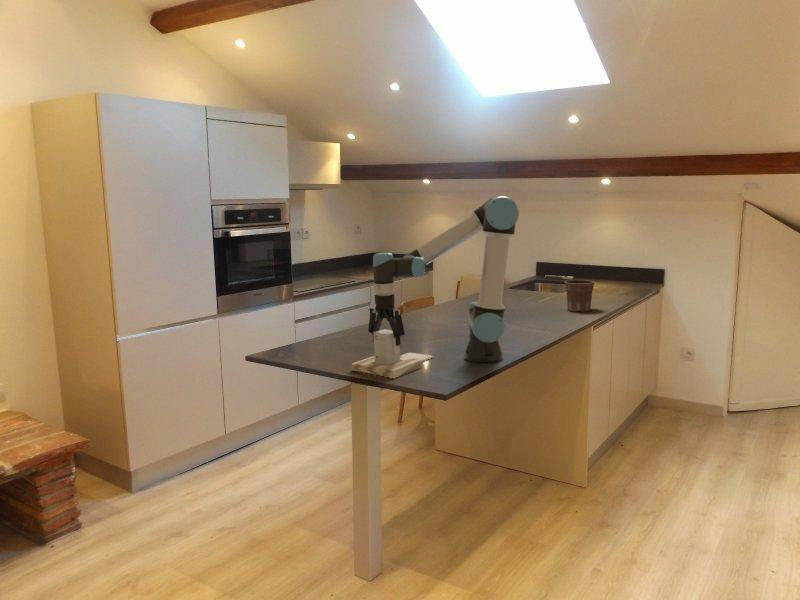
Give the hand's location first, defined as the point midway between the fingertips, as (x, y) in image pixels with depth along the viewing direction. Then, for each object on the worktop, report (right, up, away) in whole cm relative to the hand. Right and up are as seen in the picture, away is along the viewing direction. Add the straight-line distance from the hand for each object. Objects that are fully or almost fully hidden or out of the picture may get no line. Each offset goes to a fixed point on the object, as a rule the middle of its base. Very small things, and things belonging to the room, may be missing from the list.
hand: (387, 352), depth 240 cm
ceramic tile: (+11, -4, +15) cm, 19 cm away
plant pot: (+105, +14, +108) cm, 151 cm away
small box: (0, -5, +1) cm, 5 cm away
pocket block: (0, -7, +1) cm, 7 cm away
